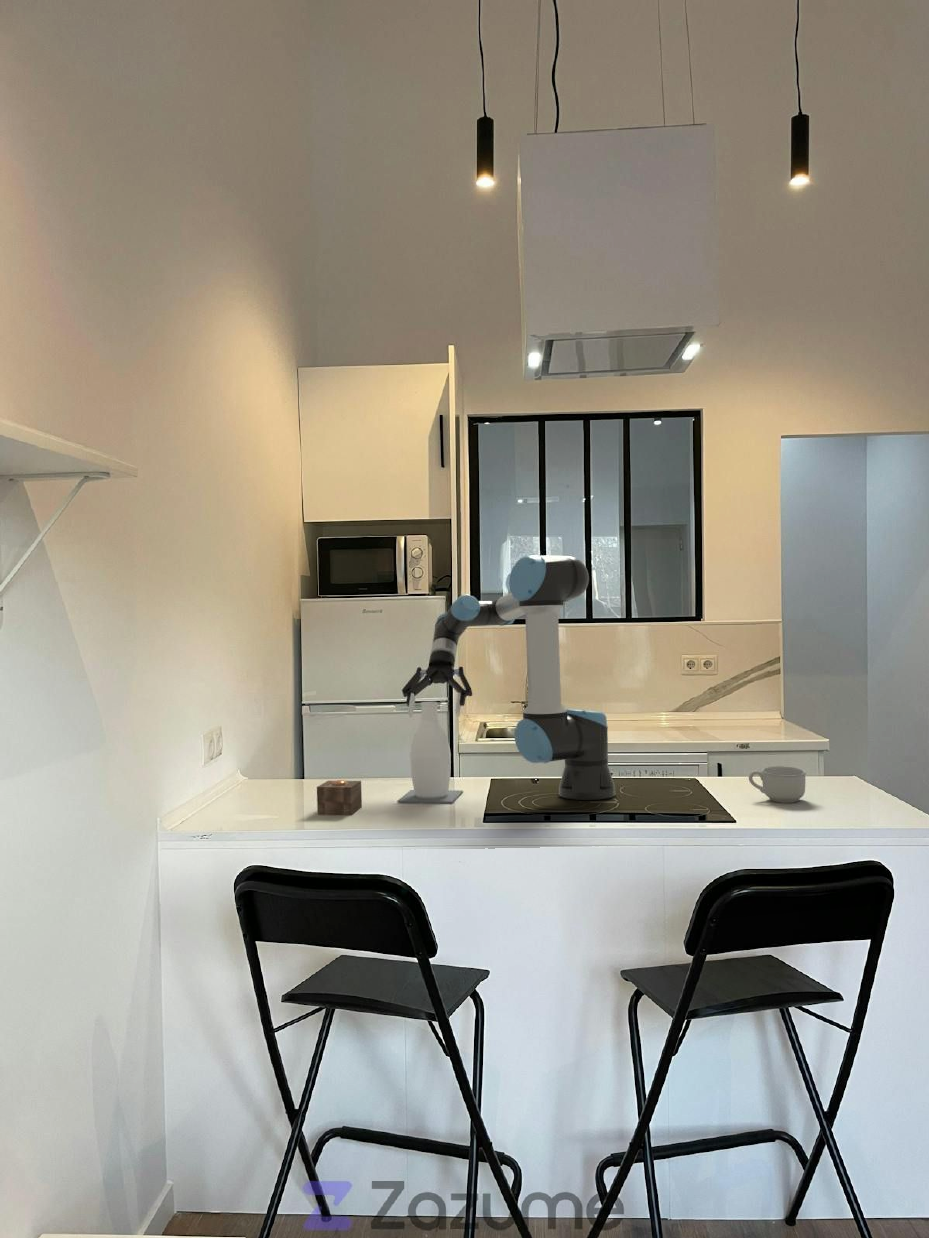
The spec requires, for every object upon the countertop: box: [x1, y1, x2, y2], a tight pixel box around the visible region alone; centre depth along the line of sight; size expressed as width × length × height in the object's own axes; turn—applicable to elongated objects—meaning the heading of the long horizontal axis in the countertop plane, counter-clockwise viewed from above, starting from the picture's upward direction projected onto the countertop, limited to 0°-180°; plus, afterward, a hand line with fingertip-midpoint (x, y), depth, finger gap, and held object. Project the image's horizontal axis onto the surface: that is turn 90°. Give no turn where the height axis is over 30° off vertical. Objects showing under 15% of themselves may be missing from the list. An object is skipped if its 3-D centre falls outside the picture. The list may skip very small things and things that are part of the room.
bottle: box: [409, 701, 452, 799], centre depth 261 cm, size 11×11×25 cm
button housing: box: [316, 780, 363, 816], centre depth 247 cm, size 9×9×7 cm
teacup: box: [748, 765, 807, 804], centre depth 246 cm, size 14×11×8 cm
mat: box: [396, 789, 464, 805], centre depth 261 cm, size 15×15×1 cm
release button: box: [328, 779, 350, 786], centre depth 247 cm, size 4×4×6 cm
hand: (433, 713), depth 269 cm, fingers open, 13 cm apart
